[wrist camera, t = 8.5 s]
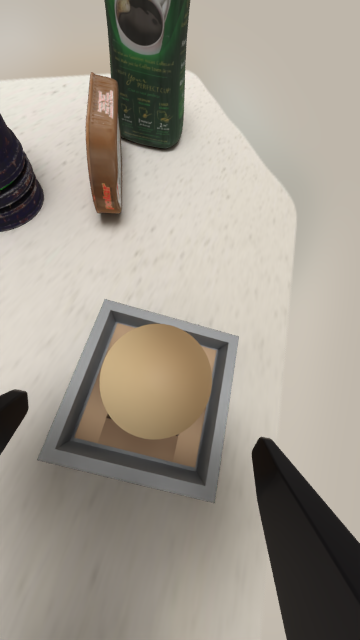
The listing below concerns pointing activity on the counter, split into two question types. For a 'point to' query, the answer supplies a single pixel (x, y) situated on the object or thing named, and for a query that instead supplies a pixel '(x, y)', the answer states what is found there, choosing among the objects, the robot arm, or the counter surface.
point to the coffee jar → (149, 67)
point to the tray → (129, 464)
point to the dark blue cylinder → (16, 183)
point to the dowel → (155, 381)
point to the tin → (104, 144)
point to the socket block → (108, 433)
